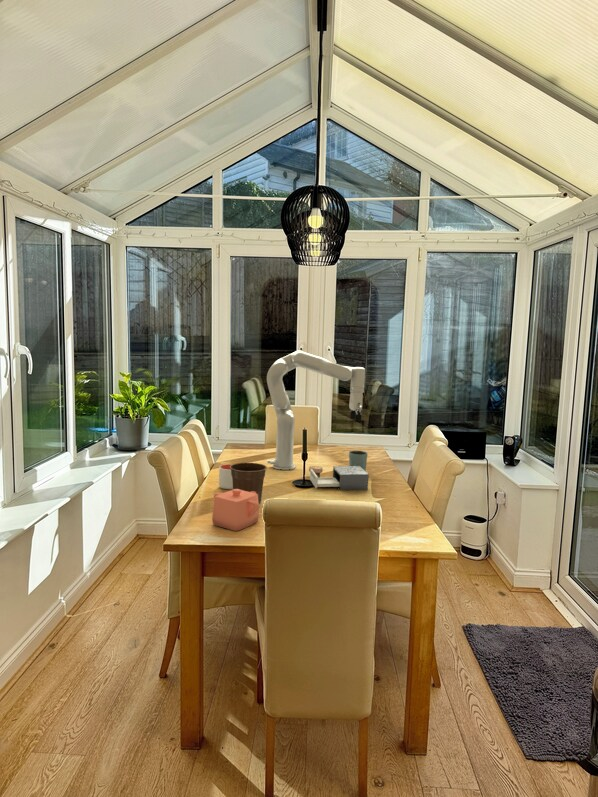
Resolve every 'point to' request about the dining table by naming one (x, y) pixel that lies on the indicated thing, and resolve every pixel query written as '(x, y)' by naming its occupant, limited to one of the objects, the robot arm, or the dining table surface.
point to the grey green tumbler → (358, 459)
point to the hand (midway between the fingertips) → (355, 420)
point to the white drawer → (323, 481)
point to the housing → (351, 477)
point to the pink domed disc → (316, 469)
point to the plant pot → (248, 477)
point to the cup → (225, 477)
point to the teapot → (235, 509)
